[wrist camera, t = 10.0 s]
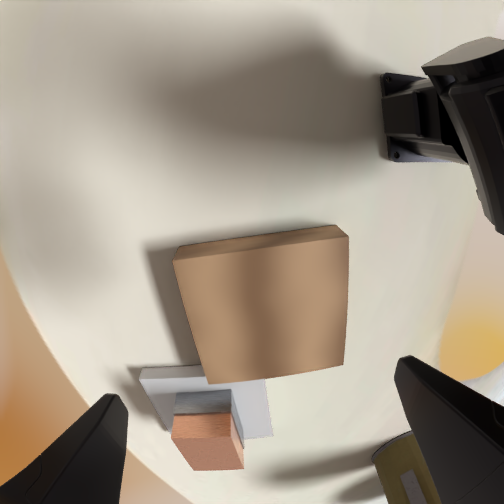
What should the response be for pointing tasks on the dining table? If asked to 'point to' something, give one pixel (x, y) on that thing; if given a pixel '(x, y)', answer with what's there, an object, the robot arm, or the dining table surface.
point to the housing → (208, 430)
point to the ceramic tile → (194, 380)
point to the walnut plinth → (267, 302)
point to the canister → (405, 472)
